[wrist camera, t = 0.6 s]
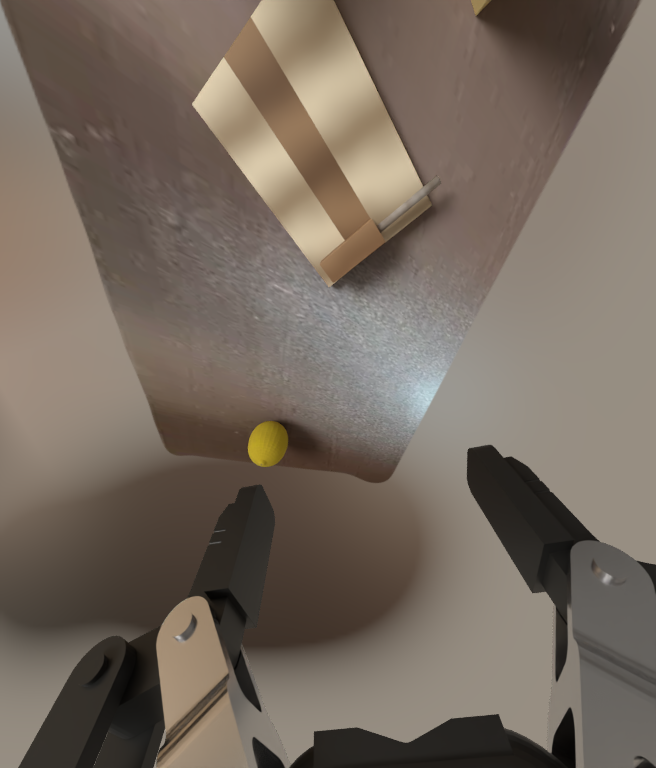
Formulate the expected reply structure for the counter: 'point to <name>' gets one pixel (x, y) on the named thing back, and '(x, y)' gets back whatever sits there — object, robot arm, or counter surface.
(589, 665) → the robot arm
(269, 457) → the lemon
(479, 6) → the yellow block grey top
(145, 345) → the counter surface
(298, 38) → the plywood panel
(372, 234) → the awl
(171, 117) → the counter surface
